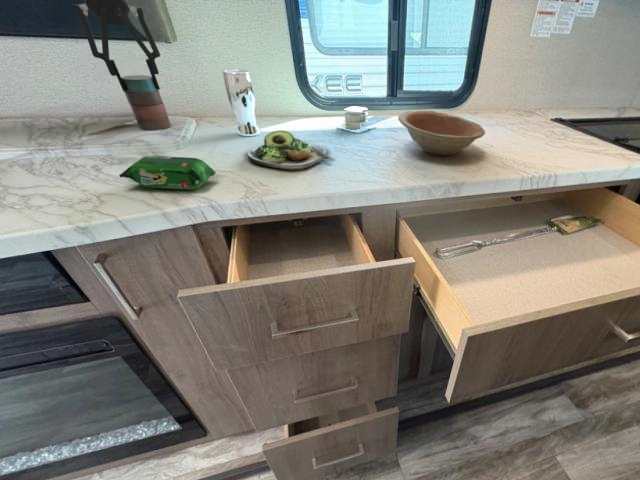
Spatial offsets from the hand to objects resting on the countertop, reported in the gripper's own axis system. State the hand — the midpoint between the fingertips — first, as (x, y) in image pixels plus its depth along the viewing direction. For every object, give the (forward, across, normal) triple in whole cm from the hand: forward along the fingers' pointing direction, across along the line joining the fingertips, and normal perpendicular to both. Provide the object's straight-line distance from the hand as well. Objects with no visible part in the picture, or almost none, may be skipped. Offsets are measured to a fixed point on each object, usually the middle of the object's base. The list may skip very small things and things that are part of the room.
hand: (141, 89), depth 91 cm
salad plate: (+10, +24, -40) cm, 48 cm away
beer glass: (+10, +22, -16) cm, 29 cm away
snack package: (+10, -2, -47) cm, 48 cm away
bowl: (+10, +64, -52) cm, 83 cm away
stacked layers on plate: (+10, +54, -22) cm, 59 cm away
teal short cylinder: (0, 0, 0) cm, 0 cm away
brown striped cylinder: (+9, 0, 0) cm, 9 cm away
